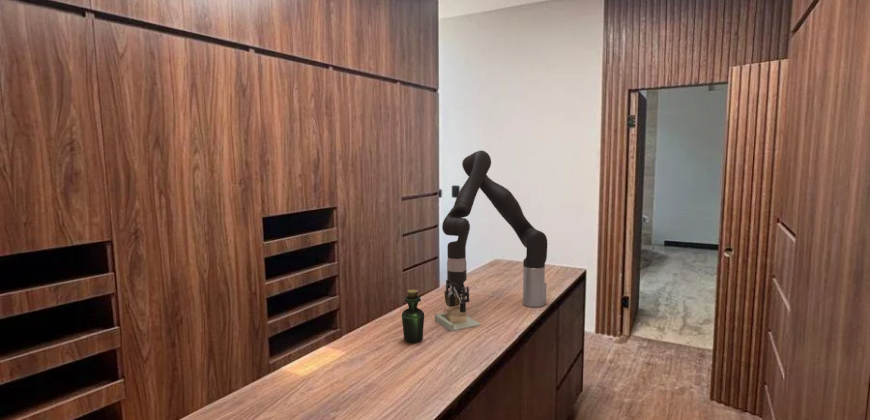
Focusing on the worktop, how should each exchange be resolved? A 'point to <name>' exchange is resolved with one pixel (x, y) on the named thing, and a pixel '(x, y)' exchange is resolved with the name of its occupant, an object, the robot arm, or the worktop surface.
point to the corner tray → (452, 327)
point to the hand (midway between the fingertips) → (457, 308)
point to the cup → (448, 300)
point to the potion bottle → (413, 319)
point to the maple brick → (456, 315)
